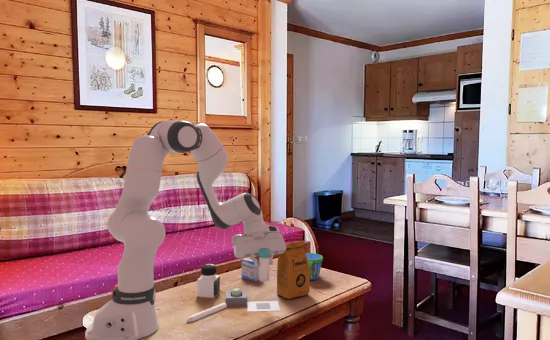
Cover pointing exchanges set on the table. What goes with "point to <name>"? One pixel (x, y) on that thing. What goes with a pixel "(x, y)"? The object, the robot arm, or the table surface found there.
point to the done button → (236, 292)
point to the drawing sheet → (263, 306)
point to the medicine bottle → (208, 282)
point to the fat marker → (264, 264)
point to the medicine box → (249, 270)
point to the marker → (206, 312)
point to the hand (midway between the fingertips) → (264, 265)
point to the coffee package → (293, 271)
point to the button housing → (236, 298)
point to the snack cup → (314, 265)
